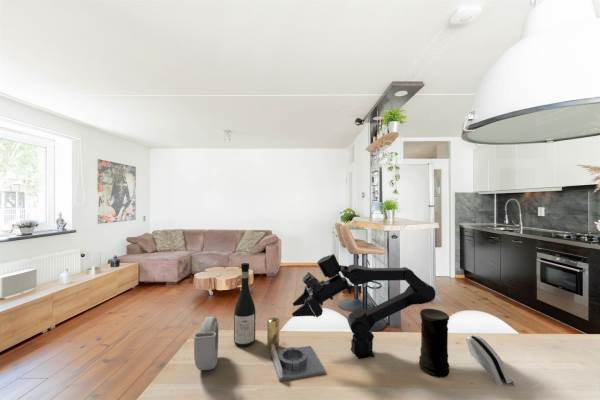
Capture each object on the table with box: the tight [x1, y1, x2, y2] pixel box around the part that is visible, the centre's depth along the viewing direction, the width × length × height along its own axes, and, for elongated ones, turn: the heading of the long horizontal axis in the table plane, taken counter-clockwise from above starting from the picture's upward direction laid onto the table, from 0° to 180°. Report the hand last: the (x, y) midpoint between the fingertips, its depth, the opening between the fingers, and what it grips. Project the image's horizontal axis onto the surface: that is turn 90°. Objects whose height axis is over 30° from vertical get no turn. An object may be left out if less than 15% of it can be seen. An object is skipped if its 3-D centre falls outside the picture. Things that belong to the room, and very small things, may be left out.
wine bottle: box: [233, 262, 256, 348], centre depth 104 cm, size 8×8×30 cm
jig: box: [270, 344, 326, 382], centre depth 91 cm, size 14×15×3 cm
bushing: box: [266, 317, 280, 351], centre depth 101 cm, size 4×4×10 cm
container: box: [418, 308, 450, 379], centre depth 88 cm, size 9×9×18 cm
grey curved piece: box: [465, 334, 517, 387], centre depth 89 cm, size 17×5×10 cm, turn 173°
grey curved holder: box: [192, 316, 219, 371], centre depth 89 cm, size 17×6×15 cm, turn 9°
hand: (292, 309), depth 97 cm, fingers open, 9 cm apart
